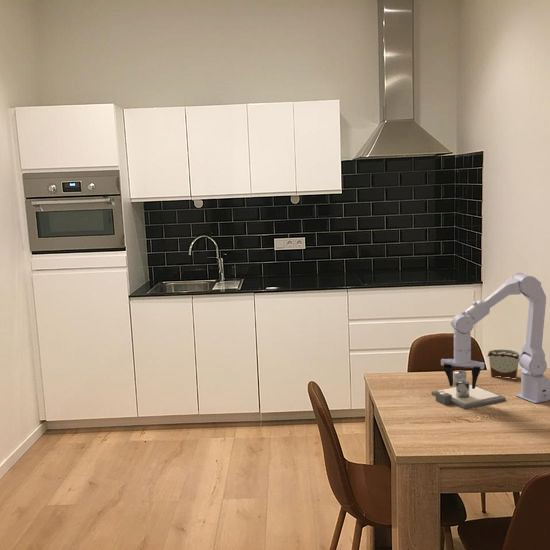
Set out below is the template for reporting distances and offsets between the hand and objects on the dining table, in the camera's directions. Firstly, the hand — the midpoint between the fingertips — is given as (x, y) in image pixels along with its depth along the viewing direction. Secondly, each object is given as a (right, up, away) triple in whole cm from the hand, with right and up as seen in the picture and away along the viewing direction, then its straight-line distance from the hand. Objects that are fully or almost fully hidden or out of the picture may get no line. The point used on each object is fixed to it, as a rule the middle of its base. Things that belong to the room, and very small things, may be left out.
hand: (462, 386), depth 219 cm
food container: (+25, -1, +27) cm, 37 cm away
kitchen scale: (+2, -5, +3) cm, 6 cm away
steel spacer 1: (+5, -3, +19) cm, 19 cm away
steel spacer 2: (0, -3, +1) cm, 4 cm away
